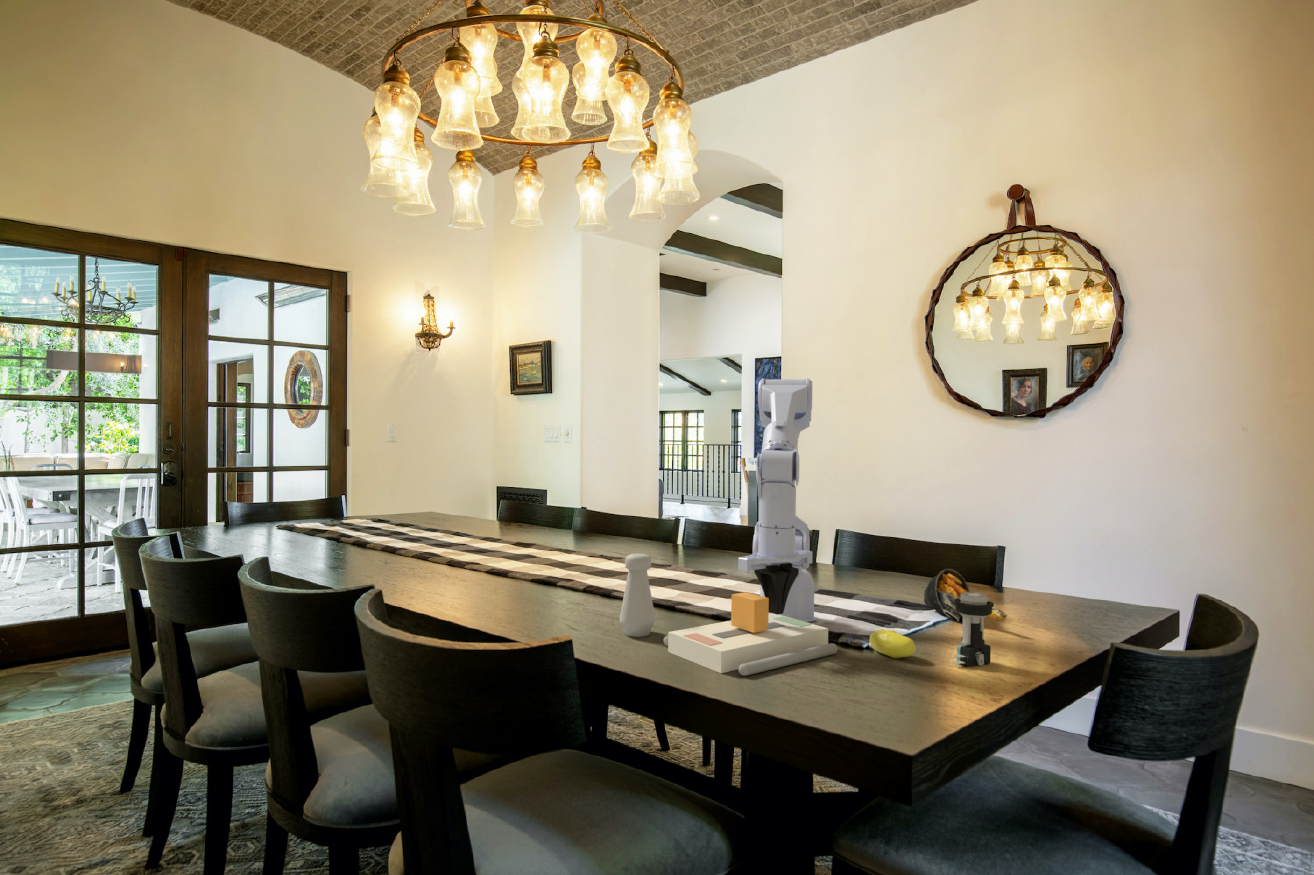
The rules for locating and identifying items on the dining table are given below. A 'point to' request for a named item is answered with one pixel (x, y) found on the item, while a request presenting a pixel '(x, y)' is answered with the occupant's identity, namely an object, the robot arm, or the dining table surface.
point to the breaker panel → (744, 642)
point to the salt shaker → (637, 597)
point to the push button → (973, 629)
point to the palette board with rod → (783, 658)
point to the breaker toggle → (749, 612)
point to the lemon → (892, 643)
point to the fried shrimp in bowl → (950, 594)
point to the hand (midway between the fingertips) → (775, 612)
